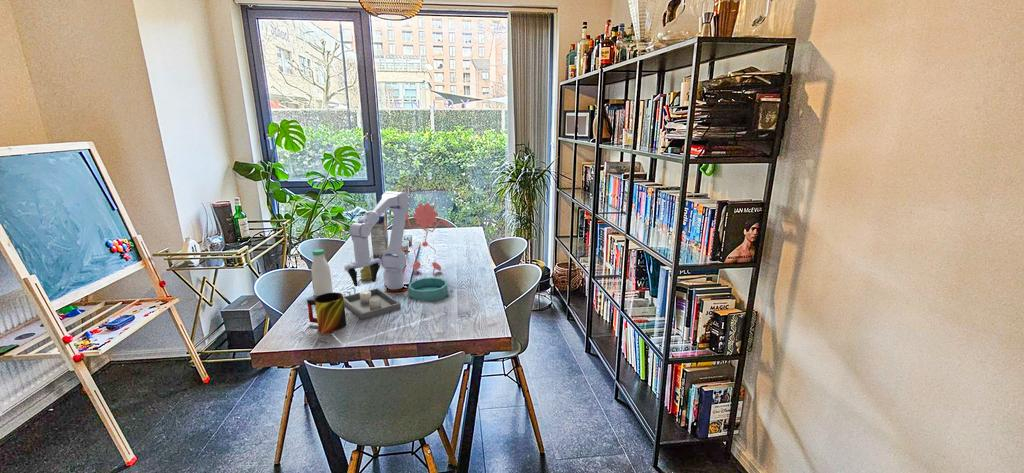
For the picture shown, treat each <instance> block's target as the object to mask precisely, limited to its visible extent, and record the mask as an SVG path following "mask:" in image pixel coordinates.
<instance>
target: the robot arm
mask: <svg viewBox="0 0 1024 473" xmlns="http://www.w3.org/2000/svg"><path fill="white" fill-rule="evenodd" d="M409 200H410V198H409V196H408V194H407V192H405V191H390V190H386V191H384V192H383V194H382V195H381V199H380V200H379V202H378V203H377V204H376V205H375V206H374V208H373V209H372V210H367V211H365V213H364V214H363V215H362V217H361V218H360V219H358V221H357V222H353V223H352V224H351V225H350V226H349V228H348V229H349V230H348V234H349V236H351V240H352V242H353V252H354V261H355V262H352V263H348V264H345V265H344V266H343V267H344V271H346V272H347V274H348V275H349V277H350V278H351V280H352V283H353V286H354V287H358V286H359V285H358V272H357V269H360V268H361V269H362V268H363V267H365V266H370V269H371V278H372V280H371V282H373V283H376V281H377V280H376V279H377V277H376V276H377V275H378V272H379V270H380V268H381V267H383V269H384V271H383V283H384V286H385V287H386V288H387V289H389V290H401V289H403V287H404V288H406V289H408V286H406V285H405V284H404V274H403V270H404V269H405V267H406V264H407V260H406V252H404V251H403V250H402V246H403V238H404V231H405V225H406V221H405V219H406V213H407V214H408V212H407V211H408V207H409V202H410V201H409ZM388 209H389V210H391V211H392V212H393V219H392V223H391V224H392V226H391V233H390V238H389V243H388V245H389V248H388V249H387V250H385V251H384V254H383V257H382V259H379V258H377V259H373V258H371V256H370V248H369V247H370V246H369V236H371V230H372V227H373V226H374V225H375V224H376V223H377V222H378V221H379V216H380V215H381V214H382V213H383V212H386V210H388ZM380 264H381V265H380ZM404 285H405V286H404Z"/></svg>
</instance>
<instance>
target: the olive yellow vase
mask: <svg viewBox="0 0 1024 473" xmlns="http://www.w3.org/2000/svg"><path fill="white" fill-rule="evenodd" d="M359 273H360V280H362V281H368V282H369V281H372V278H371V269H370V266H365V267H361V269H360V271H359ZM376 278H377V276H376Z"/></svg>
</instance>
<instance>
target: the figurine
mask: <svg viewBox="0 0 1024 473" xmlns="http://www.w3.org/2000/svg"><path fill="white" fill-rule="evenodd" d="M435 209H436V207H435V205H430V203H429V202H426V203H424V205H423V204H422V202H419V203H418V205H417V207H415V208H414V212H415V213H414V214H412V218H414V219H415V220H416V221H415V224H417V225H420V227H412V225H411V223H410V218H409V214H408V212H407V213H406V219H405V222H406V221H407V222H408V226H409V228H410V230H416V229H421V230H423V231H425V232H426V234H425V239H424V241H422V244H421V245H419V246H417V247H416V248H414V249H413V252H414V257H415V262H414V263H413V264H412V269H414V271H415V275H418V274H417V273H418V272H417V271H418V270H419V269H420V268H421V266H422V264H421V262H420V261H418V259H417V256H416V252H415V251H416V250H418V249H419V248H421V247H424V248H425V247H426V248H427V246H428V247H430V248H431V249H432V250H434V253H436V249H435V248H434V247H433V246H431V245H429V243H428V242H427V241H426V240H427V236H428V233H429V232H431V233H433V232H434V230H436V228H437V227H438V225H439V224H440V223H442V224H443V225H444V226H446V227H448V228H449V229H450V228H451V224H449V223H448V222H447V221H446V220H445V219H443V218H440V219H439V221H438V219H437V216H439V213H438V212H437V211H436V210H435ZM434 223H435V224H436V225H435V226H434V228H433V229H432V230H431V229H428V228H426V227H427V226H428V227H429V228H432V227H433V225H434ZM431 263H432V265H431V267H433V269H432V270H433V271H432V275H433V276H434V275H435V270H437V271H439V272H441V270H442V266H441V265H440V264H439V263H437V262H436V261H432V262H431ZM444 276H446V273H445V274H444Z"/></svg>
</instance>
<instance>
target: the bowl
mask: <svg viewBox="0 0 1024 473" xmlns="http://www.w3.org/2000/svg"><path fill="white" fill-rule="evenodd" d="M407 290H408V296H409V297H411V299H415V300H421V301H427V302H435V301H438V300H441V299H444V298H445V297H446V296H448V295H449V293H448V291H449V290H448V281H447V280H446V279H443V278H442V277H441V278H440V277H422V278H419V279H414V280H412V281H410V282H409V284H408V286H407Z"/></svg>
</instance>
